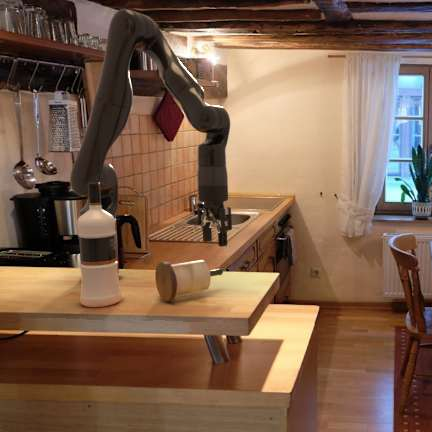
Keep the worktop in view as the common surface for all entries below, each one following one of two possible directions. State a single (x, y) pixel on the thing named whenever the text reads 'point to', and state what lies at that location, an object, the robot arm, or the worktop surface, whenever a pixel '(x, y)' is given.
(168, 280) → the towel holder
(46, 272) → the worktop surface
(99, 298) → the vodka
